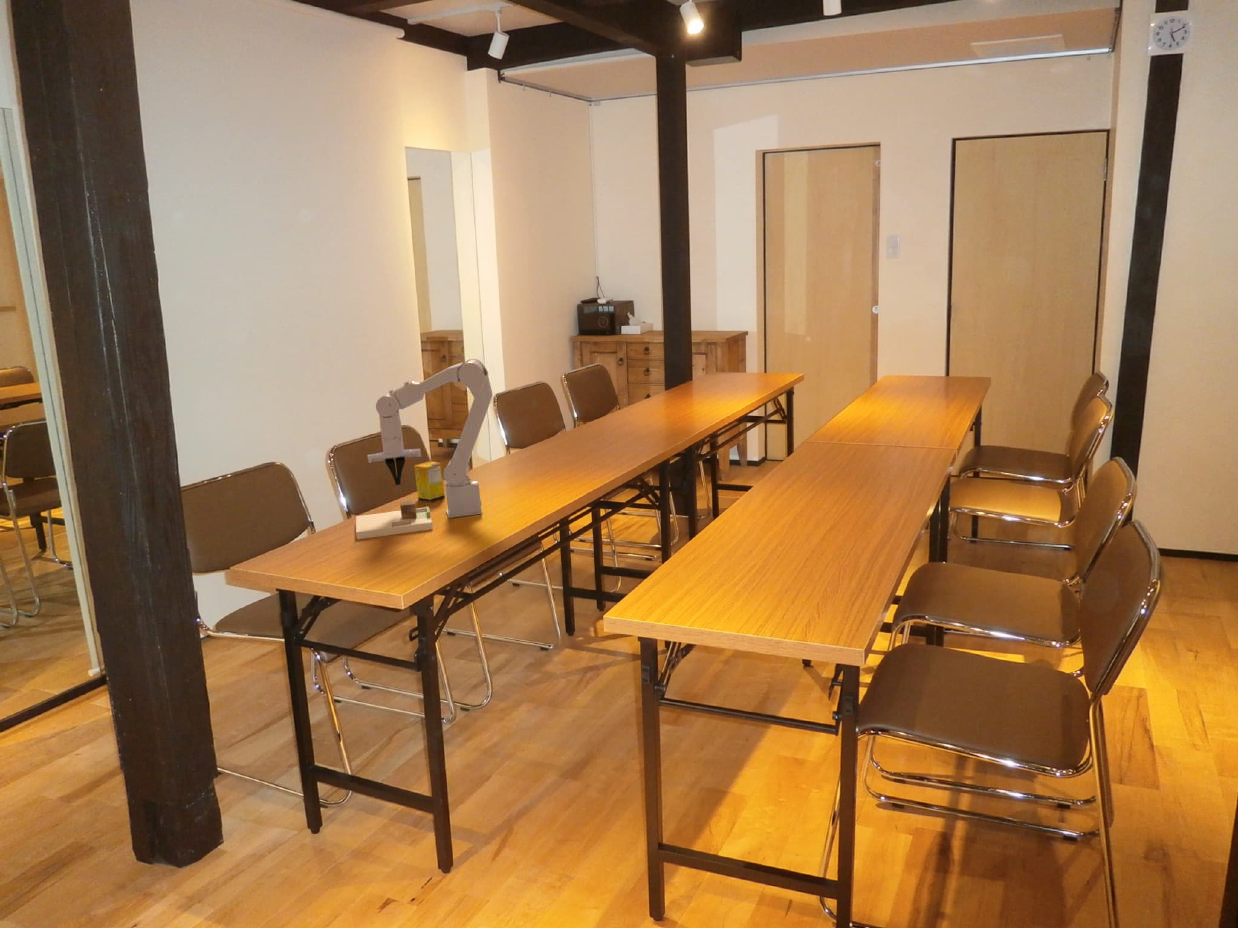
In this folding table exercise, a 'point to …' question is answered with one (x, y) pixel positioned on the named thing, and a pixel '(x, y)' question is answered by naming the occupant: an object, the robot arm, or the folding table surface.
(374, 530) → the deck
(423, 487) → the supplement box
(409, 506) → the block
